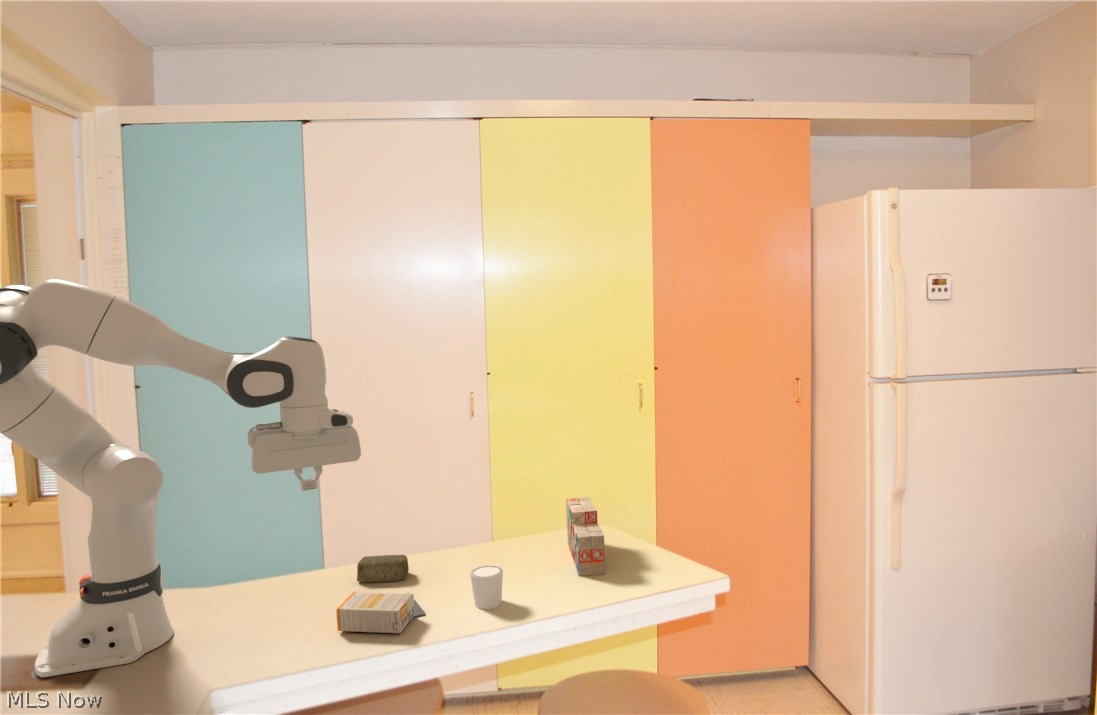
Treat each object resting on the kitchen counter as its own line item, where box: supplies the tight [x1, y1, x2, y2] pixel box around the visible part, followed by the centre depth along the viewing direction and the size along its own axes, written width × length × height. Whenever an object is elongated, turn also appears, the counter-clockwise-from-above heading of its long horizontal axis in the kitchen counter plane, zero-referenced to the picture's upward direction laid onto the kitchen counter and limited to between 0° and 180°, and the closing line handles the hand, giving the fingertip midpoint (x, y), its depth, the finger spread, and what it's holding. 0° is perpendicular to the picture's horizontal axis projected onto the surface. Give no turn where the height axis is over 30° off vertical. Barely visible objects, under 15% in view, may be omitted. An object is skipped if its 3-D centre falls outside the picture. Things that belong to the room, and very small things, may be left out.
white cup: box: [469, 565, 504, 610], centre depth 147 cm, size 7×7×7 cm
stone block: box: [356, 554, 409, 584], centre depth 163 cm, size 6×12×5 cm, turn 92°
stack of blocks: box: [565, 496, 606, 577], centre depth 170 cm, size 21×6×12 cm, turn 5°
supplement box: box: [336, 591, 415, 634], centre depth 139 cm, size 8×5×13 cm
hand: (309, 489), depth 137 cm, fingers closed
